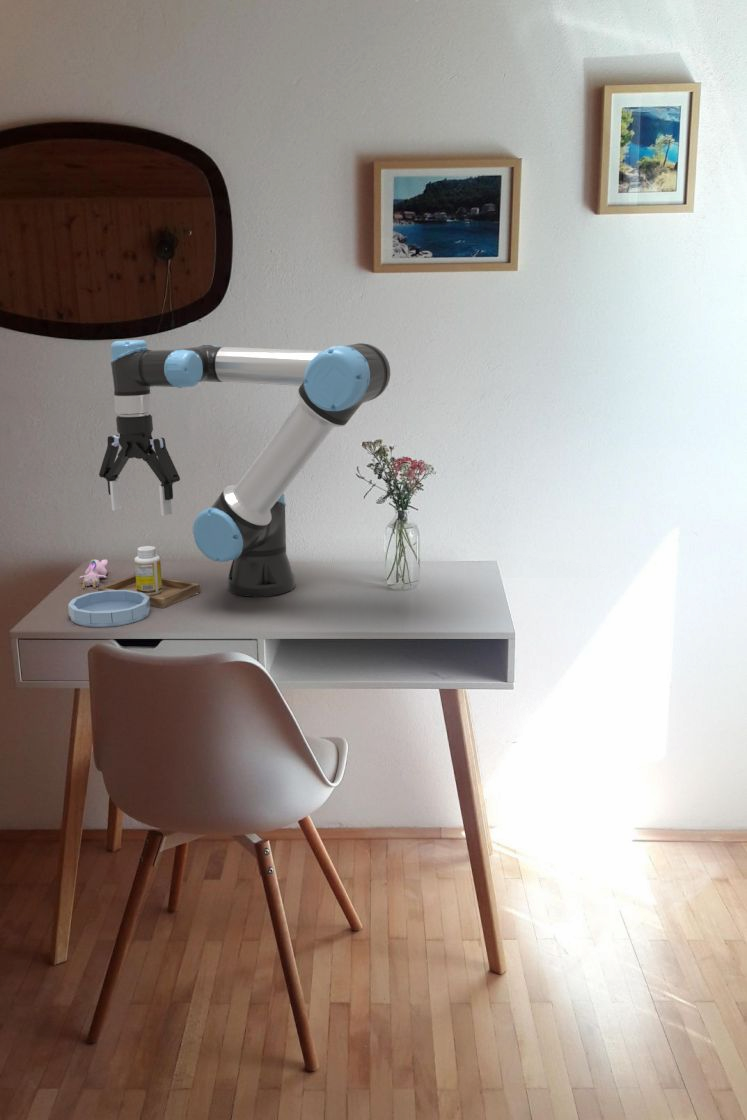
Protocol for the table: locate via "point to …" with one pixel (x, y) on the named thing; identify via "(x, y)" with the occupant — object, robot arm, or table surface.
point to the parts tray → (168, 595)
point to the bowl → (109, 608)
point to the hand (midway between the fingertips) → (141, 512)
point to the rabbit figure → (94, 573)
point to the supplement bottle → (148, 571)
